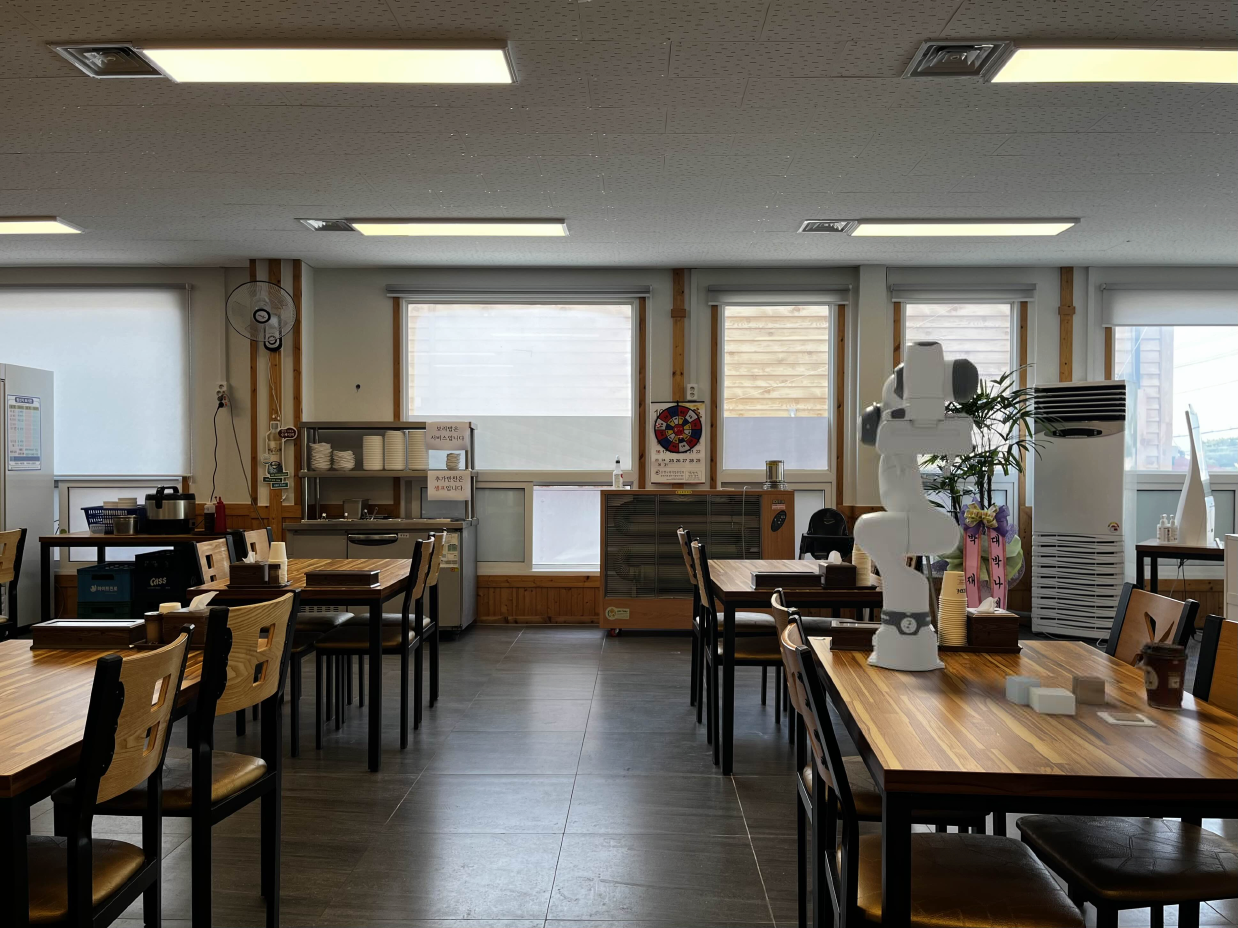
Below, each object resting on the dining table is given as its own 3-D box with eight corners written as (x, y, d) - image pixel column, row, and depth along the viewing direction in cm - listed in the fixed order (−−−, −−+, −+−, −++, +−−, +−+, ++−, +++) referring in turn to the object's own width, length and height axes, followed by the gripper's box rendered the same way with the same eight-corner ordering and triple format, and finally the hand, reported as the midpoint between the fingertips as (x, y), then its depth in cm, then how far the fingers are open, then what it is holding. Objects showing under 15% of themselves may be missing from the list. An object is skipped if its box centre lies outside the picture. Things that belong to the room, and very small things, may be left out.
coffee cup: (1144, 709, 187) (1143, 645, 187) (1136, 700, 195) (1136, 639, 195) (1192, 713, 184) (1192, 649, 184) (1183, 704, 192) (1182, 642, 192)
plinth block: (1028, 705, 190) (1028, 686, 190) (1064, 707, 189) (1064, 688, 189) (1038, 713, 183) (1037, 693, 183) (1075, 715, 182) (1075, 695, 182)
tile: (1096, 713, 183) (1096, 710, 183) (1140, 716, 181) (1140, 712, 181) (1110, 723, 175) (1110, 720, 175) (1155, 726, 173) (1155, 722, 173)
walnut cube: (1072, 698, 197) (1072, 674, 197) (1097, 699, 196) (1097, 676, 196) (1079, 703, 192) (1079, 679, 192) (1105, 704, 191) (1105, 680, 191)
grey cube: (1006, 699, 195) (1006, 675, 195) (1028, 699, 195) (1028, 675, 196) (1018, 704, 190) (1017, 680, 190) (1041, 704, 190) (1040, 680, 191)
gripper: (970, 414, 202) (970, 475, 202) (875, 414, 206) (875, 475, 206) (976, 411, 196) (976, 475, 196) (878, 412, 200) (877, 474, 200)
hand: (923, 475), depth 201 cm, fingers open, 8 cm apart
